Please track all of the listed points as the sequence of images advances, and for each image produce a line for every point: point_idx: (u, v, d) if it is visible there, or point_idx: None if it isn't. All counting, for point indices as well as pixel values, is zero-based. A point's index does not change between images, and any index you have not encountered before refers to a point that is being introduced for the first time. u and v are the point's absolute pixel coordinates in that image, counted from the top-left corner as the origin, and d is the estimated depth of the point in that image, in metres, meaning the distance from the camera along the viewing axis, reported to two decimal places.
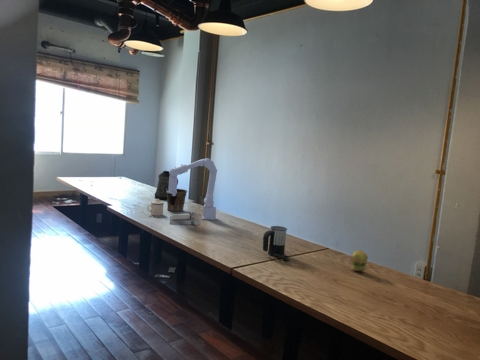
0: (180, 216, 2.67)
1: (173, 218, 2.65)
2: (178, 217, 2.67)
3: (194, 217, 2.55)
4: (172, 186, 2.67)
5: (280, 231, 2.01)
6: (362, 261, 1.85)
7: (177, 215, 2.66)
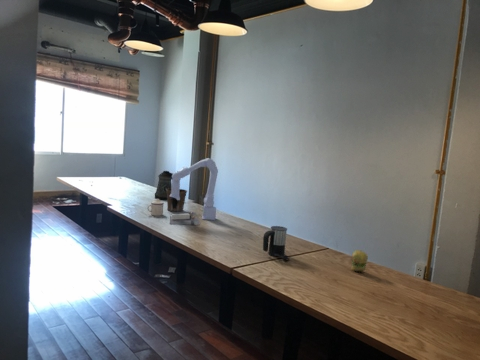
0: (180, 216, 2.67)
1: (173, 218, 2.65)
2: (178, 217, 2.67)
3: (194, 217, 2.55)
4: (175, 190, 2.67)
5: (280, 231, 2.01)
6: (362, 261, 1.85)
7: (177, 215, 2.66)
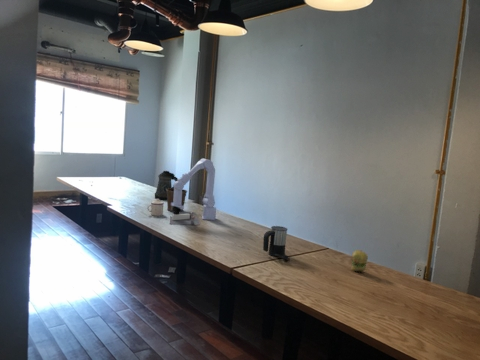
0: (181, 216, 2.67)
1: (174, 218, 2.64)
2: (179, 217, 2.66)
3: (194, 217, 2.55)
4: (178, 199, 2.63)
5: (280, 231, 2.01)
6: (362, 261, 1.85)
7: (178, 215, 2.65)
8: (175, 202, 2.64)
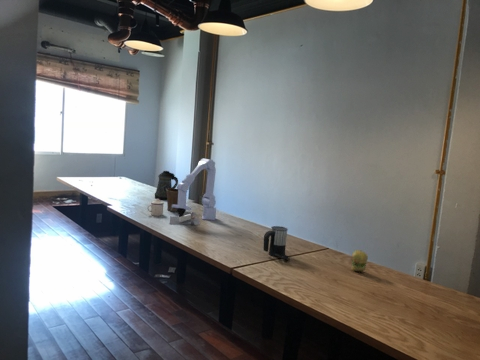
0: (186, 218, 2.64)
1: (181, 220, 2.60)
2: (184, 218, 2.63)
3: (194, 217, 2.55)
4: (184, 201, 2.60)
5: (281, 231, 2.01)
6: (362, 261, 1.85)
7: (184, 217, 2.62)
8: (181, 204, 2.59)
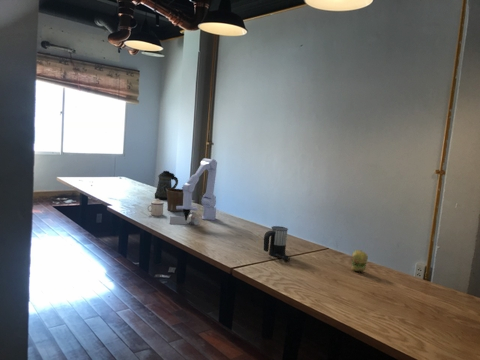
0: (190, 218, 2.64)
1: (189, 221, 2.59)
2: (190, 219, 2.62)
3: (194, 217, 2.55)
4: (191, 201, 2.59)
5: (281, 231, 2.01)
6: (362, 261, 1.85)
7: (190, 218, 2.61)
8: (188, 205, 2.58)
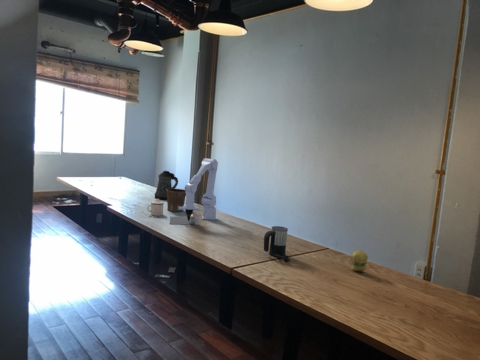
0: None
1: None
2: None
3: (194, 217, 2.55)
4: (193, 201, 2.59)
5: (281, 231, 2.01)
6: (362, 261, 1.85)
7: None
8: (191, 205, 2.58)
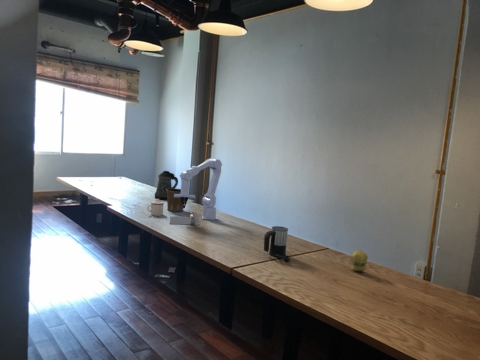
0: None
1: None
2: None
3: (194, 217, 2.55)
4: None
5: (281, 231, 2.01)
6: (362, 261, 1.85)
7: None
8: (187, 192, 2.60)
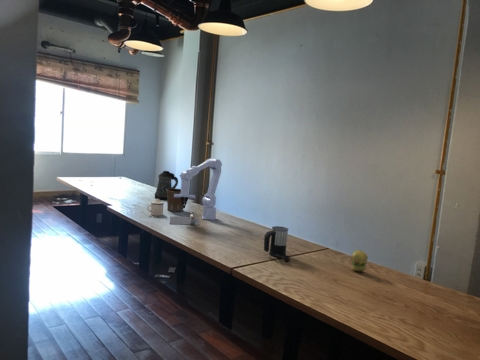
0: None
1: None
2: None
3: (194, 217, 2.55)
4: None
5: (281, 231, 2.01)
6: (362, 261, 1.85)
7: None
8: (187, 192, 2.60)
